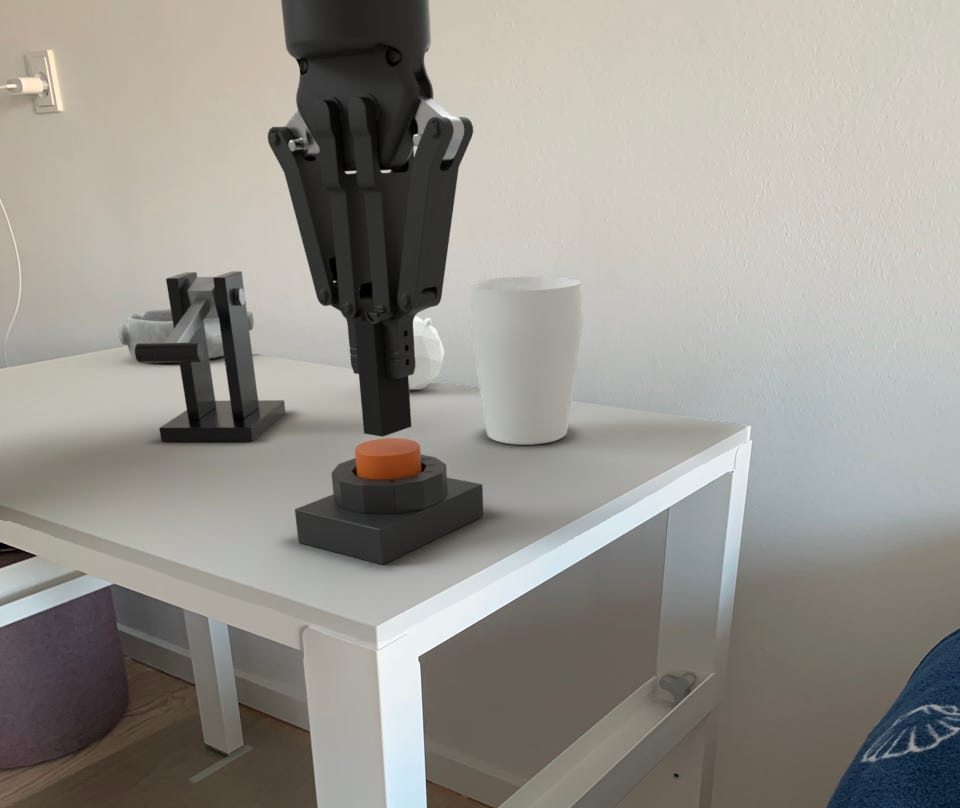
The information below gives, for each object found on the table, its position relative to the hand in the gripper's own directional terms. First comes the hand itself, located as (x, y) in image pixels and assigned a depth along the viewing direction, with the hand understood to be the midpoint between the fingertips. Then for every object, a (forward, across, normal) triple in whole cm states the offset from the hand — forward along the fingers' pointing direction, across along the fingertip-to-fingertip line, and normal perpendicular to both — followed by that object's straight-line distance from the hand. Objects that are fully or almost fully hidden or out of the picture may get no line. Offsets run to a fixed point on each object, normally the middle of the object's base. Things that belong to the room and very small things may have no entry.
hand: (387, 429), depth 61 cm
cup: (+7, +6, -23) cm, 25 cm away
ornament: (+7, +26, -32) cm, 42 cm away
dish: (+6, +63, -34) cm, 72 cm away
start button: (+3, 0, 0) cm, 3 cm away
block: (+6, 0, 0) cm, 6 cm away
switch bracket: (+6, +30, -12) cm, 34 cm away
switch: (-2, +28, -9) cm, 30 cm away
